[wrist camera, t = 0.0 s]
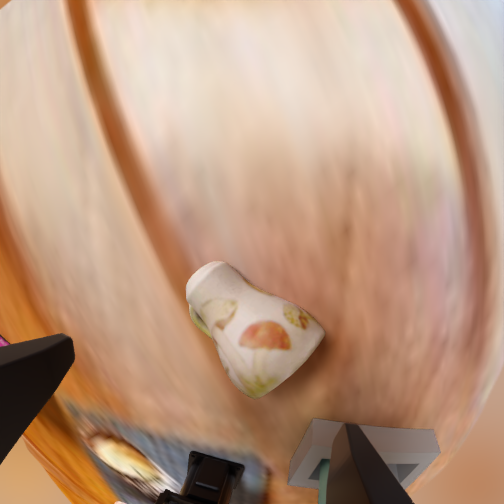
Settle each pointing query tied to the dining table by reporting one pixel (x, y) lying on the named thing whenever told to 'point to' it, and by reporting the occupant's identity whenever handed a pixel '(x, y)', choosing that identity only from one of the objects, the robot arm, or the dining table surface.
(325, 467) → the peg
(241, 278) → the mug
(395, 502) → the robot arm
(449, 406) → the dining table surface
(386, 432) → the block
